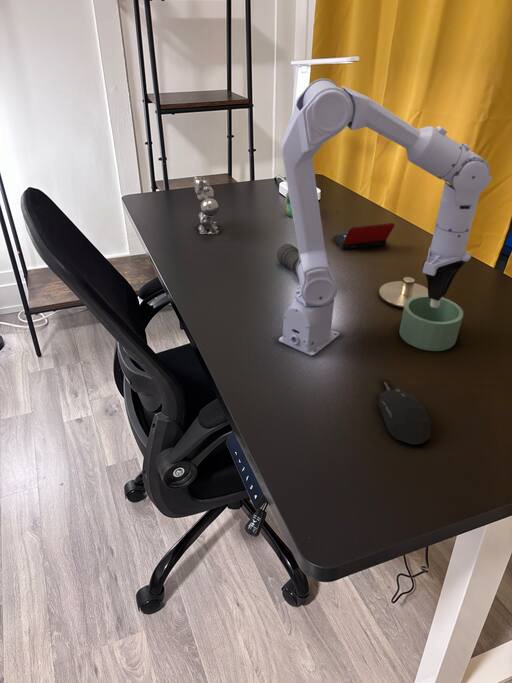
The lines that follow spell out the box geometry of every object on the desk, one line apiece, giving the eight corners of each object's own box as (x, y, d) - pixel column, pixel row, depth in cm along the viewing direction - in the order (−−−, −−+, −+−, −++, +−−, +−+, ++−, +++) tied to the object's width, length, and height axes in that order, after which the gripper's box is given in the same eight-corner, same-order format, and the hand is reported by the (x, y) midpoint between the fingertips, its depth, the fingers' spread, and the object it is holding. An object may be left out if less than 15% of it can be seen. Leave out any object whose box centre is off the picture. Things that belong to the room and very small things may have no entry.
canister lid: (418, 317, 103) (423, 298, 101) (368, 299, 109) (371, 281, 107) (441, 296, 111) (446, 278, 108) (393, 280, 117) (396, 262, 114)
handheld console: (373, 234, 139) (377, 208, 135) (391, 250, 131) (396, 223, 127) (331, 239, 137) (333, 212, 133) (346, 255, 128) (350, 227, 124)
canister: (442, 358, 92) (449, 330, 88) (389, 337, 97) (394, 310, 94) (464, 333, 98) (471, 307, 95) (413, 315, 104) (419, 289, 101)
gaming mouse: (402, 382, 86) (406, 363, 84) (436, 445, 74) (442, 426, 71) (366, 384, 85) (369, 366, 83) (395, 449, 73) (399, 429, 71)
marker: (437, 309, 93) (446, 270, 89) (427, 305, 94) (436, 267, 89) (441, 305, 94) (450, 266, 90) (431, 302, 95) (440, 263, 91)
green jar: (282, 213, 152) (283, 187, 148) (295, 211, 154) (296, 185, 150) (289, 218, 149) (290, 191, 145) (303, 216, 151) (304, 189, 146)
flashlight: (274, 264, 124) (274, 243, 121) (293, 260, 126) (294, 239, 123) (305, 290, 112) (306, 268, 109) (325, 286, 114) (327, 264, 111)
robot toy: (223, 241, 135) (221, 186, 127) (200, 243, 134) (197, 187, 126) (215, 221, 147) (213, 169, 139) (194, 223, 146) (191, 171, 137)
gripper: (459, 245, 79) (441, 319, 86) (491, 219, 88) (472, 288, 95) (417, 234, 82) (403, 306, 90) (452, 210, 91) (436, 277, 99)
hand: (436, 296), depth 93 cm, fingers closed on marker, 2 cm apart
